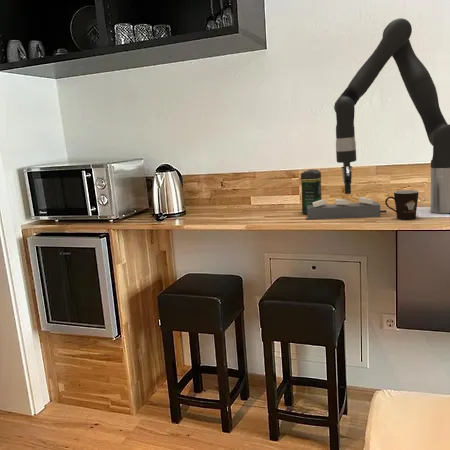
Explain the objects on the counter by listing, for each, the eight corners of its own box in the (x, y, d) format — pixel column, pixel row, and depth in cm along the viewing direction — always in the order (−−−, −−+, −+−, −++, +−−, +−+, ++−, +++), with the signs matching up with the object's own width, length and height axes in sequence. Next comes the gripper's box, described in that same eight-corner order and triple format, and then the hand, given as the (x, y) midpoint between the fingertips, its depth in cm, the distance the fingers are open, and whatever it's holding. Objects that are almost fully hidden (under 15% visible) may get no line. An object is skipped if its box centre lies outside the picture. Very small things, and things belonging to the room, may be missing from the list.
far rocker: (326, 202, 195) (325, 198, 194) (326, 203, 191) (325, 199, 191) (313, 206, 196) (312, 202, 196) (313, 207, 192) (312, 203, 192)
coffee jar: (318, 215, 201) (316, 170, 198) (300, 215, 205) (298, 171, 201) (324, 211, 210) (322, 168, 206) (307, 211, 213) (304, 168, 210)
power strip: (384, 212, 195) (384, 200, 194) (387, 216, 187) (387, 203, 186) (307, 216, 201) (307, 204, 200) (307, 219, 193) (306, 207, 192)
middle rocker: (348, 203, 193) (349, 199, 193) (349, 204, 190) (349, 200, 189) (335, 202, 194) (335, 198, 194) (335, 204, 191) (336, 200, 190)
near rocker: (371, 203, 192) (372, 199, 191) (372, 204, 188) (373, 200, 188) (358, 200, 192) (359, 196, 192) (359, 202, 189) (360, 197, 188)
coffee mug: (418, 216, 183) (418, 189, 181) (419, 220, 175) (419, 193, 173) (385, 216, 187) (385, 191, 185) (385, 221, 179) (385, 194, 177)
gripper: (357, 149, 180) (359, 195, 184) (354, 148, 193) (356, 191, 196) (336, 151, 182) (339, 196, 185) (335, 149, 195) (337, 192, 198)
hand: (347, 193), depth 191 cm, fingers closed
